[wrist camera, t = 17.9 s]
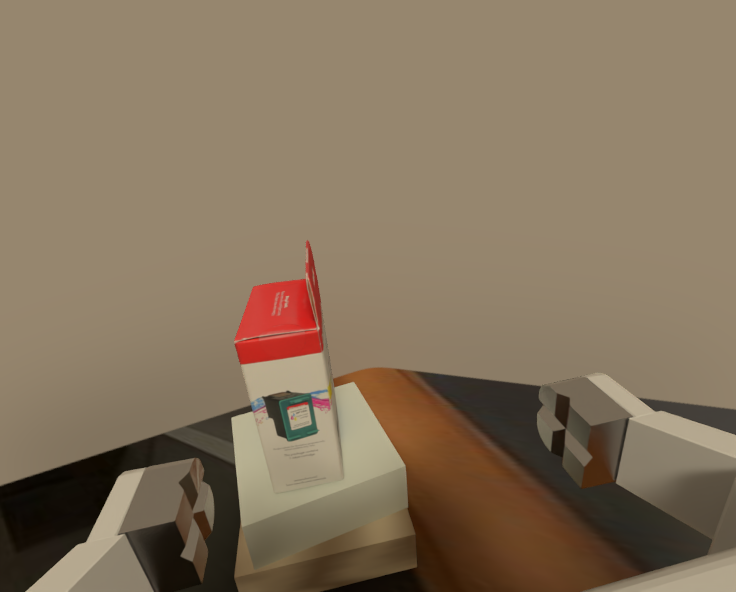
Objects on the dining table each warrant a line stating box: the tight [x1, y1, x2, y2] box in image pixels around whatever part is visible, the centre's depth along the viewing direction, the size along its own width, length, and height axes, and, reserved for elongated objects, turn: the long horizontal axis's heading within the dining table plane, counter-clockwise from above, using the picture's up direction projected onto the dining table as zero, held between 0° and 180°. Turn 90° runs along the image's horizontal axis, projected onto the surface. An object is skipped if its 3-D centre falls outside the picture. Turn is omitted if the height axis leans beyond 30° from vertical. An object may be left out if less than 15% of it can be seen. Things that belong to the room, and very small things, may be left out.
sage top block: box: [231, 382, 408, 570], centre depth 31 cm, size 11×11×4 cm
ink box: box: [234, 240, 344, 493], centre depth 27 cm, size 8×5×15 cm, turn 8°
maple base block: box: [234, 419, 417, 592], centre depth 32 cm, size 12×12×4 cm
